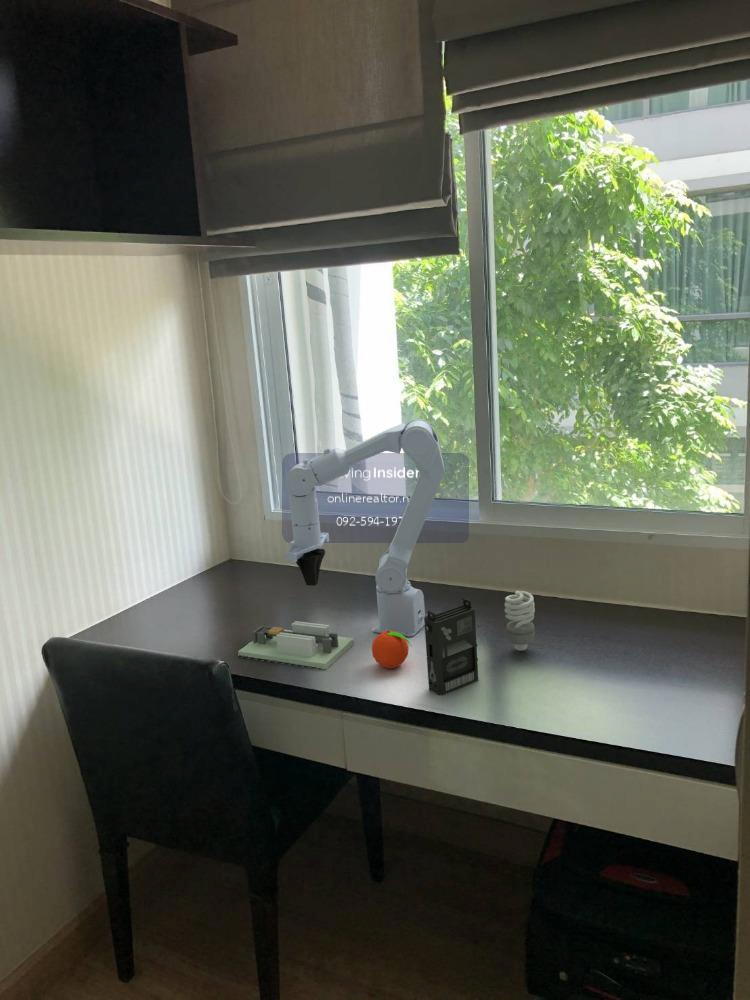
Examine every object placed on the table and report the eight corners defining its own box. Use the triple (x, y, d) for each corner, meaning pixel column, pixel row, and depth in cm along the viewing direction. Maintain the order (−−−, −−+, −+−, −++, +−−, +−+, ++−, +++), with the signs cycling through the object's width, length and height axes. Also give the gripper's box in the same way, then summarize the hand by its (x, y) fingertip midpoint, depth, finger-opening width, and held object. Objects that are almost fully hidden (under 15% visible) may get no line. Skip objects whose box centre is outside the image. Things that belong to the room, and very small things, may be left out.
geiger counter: (467, 669, 148) (463, 593, 145) (483, 678, 145) (480, 600, 141) (422, 687, 143) (416, 609, 139) (438, 697, 139) (432, 616, 135)
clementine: (420, 661, 153) (418, 626, 151) (406, 677, 147) (403, 641, 145) (382, 656, 157) (379, 622, 155) (367, 671, 151) (364, 636, 149)
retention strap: (334, 640, 159) (334, 634, 159) (329, 644, 157) (328, 638, 157) (264, 631, 166) (264, 625, 166) (259, 635, 164) (258, 629, 164)
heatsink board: (354, 643, 163) (352, 622, 162) (325, 669, 153) (323, 647, 152) (271, 633, 172) (268, 612, 171) (238, 656, 161) (236, 635, 160)
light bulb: (533, 658, 151) (531, 598, 148) (503, 656, 153) (501, 596, 150) (538, 645, 156) (536, 587, 153) (509, 643, 158) (507, 586, 155)
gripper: (306, 512, 174) (312, 571, 177) (270, 531, 161) (277, 594, 164) (335, 513, 171) (340, 573, 174) (300, 533, 158) (307, 598, 161)
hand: (312, 584), depth 169 cm, fingers closed
